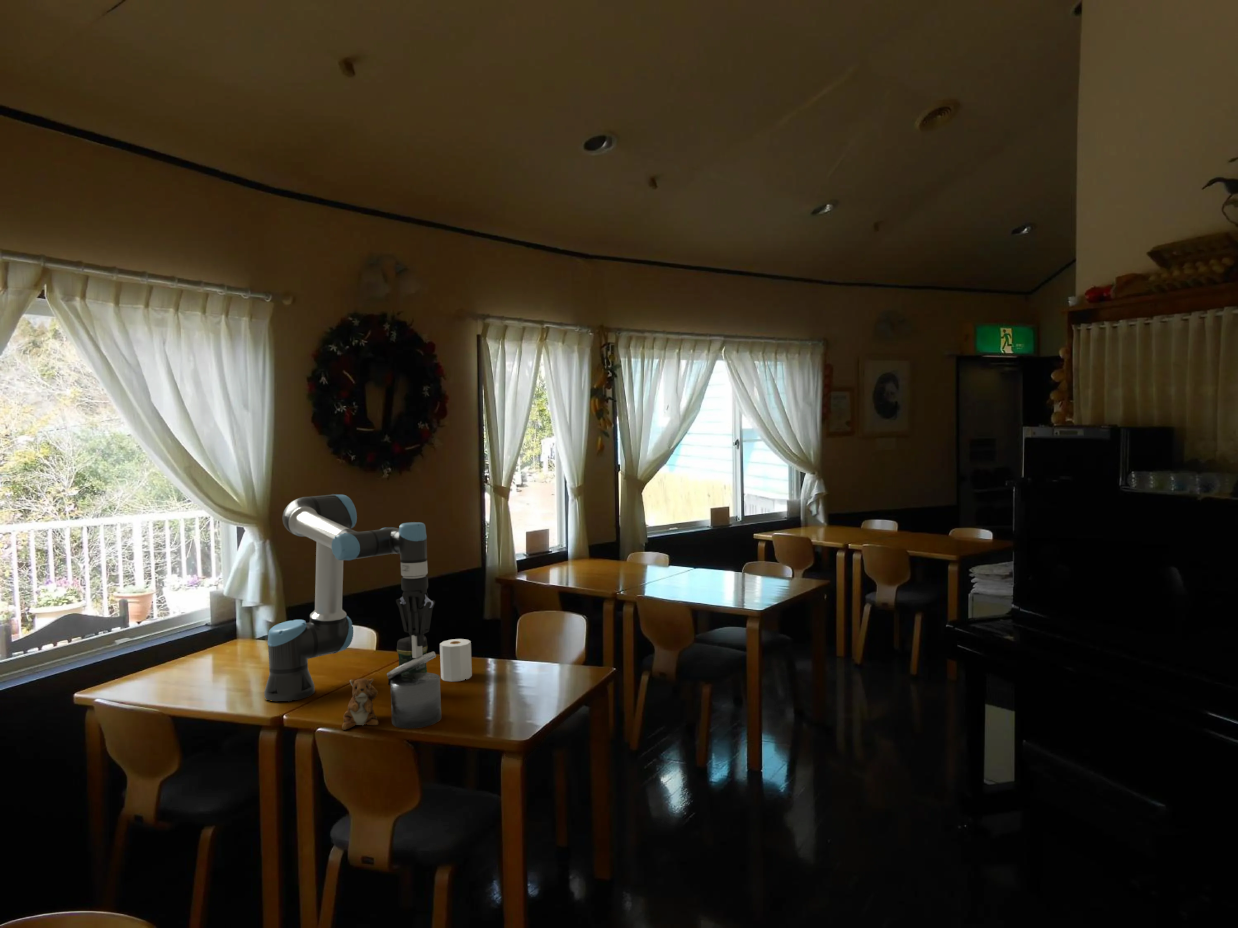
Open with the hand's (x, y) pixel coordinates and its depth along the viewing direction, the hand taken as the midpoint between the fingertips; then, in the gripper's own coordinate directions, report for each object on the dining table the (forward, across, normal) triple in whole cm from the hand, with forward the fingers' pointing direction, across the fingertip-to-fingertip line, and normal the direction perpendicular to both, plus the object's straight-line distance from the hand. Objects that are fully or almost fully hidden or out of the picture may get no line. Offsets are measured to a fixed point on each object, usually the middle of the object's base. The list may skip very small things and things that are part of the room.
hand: (417, 656), depth 236 cm
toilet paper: (+19, -17, +38) cm, 46 cm away
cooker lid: (+3, -2, 0) cm, 4 cm away
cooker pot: (+19, -1, 0) cm, 19 cm away
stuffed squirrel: (+19, -16, -7) cm, 26 cm away
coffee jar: (+19, -19, +19) cm, 33 cm away
